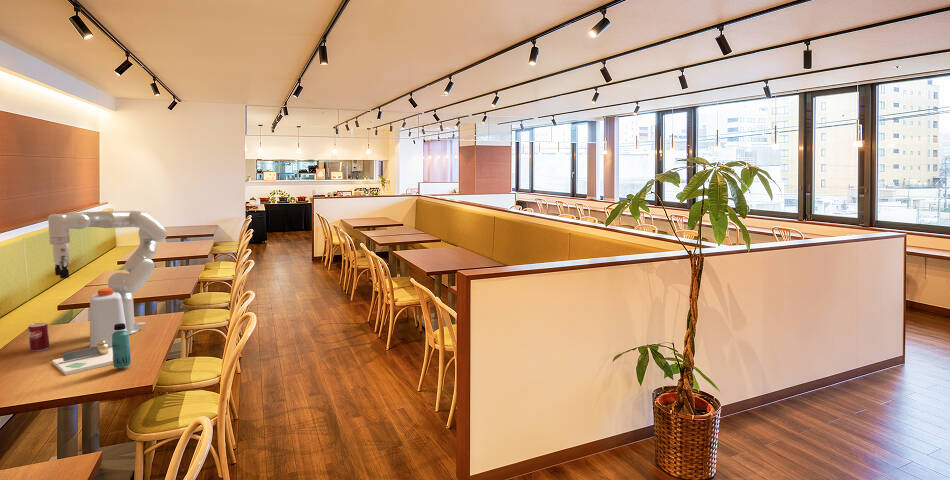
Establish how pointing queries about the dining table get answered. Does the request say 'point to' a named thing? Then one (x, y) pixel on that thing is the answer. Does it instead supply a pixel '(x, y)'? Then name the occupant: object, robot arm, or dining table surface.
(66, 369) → the dial plate
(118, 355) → the beverage bottle
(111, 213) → the robot arm
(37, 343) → the soda can
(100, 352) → the lever
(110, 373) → the dining table surface
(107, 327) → the plastic bottle
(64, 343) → the dining table surface
